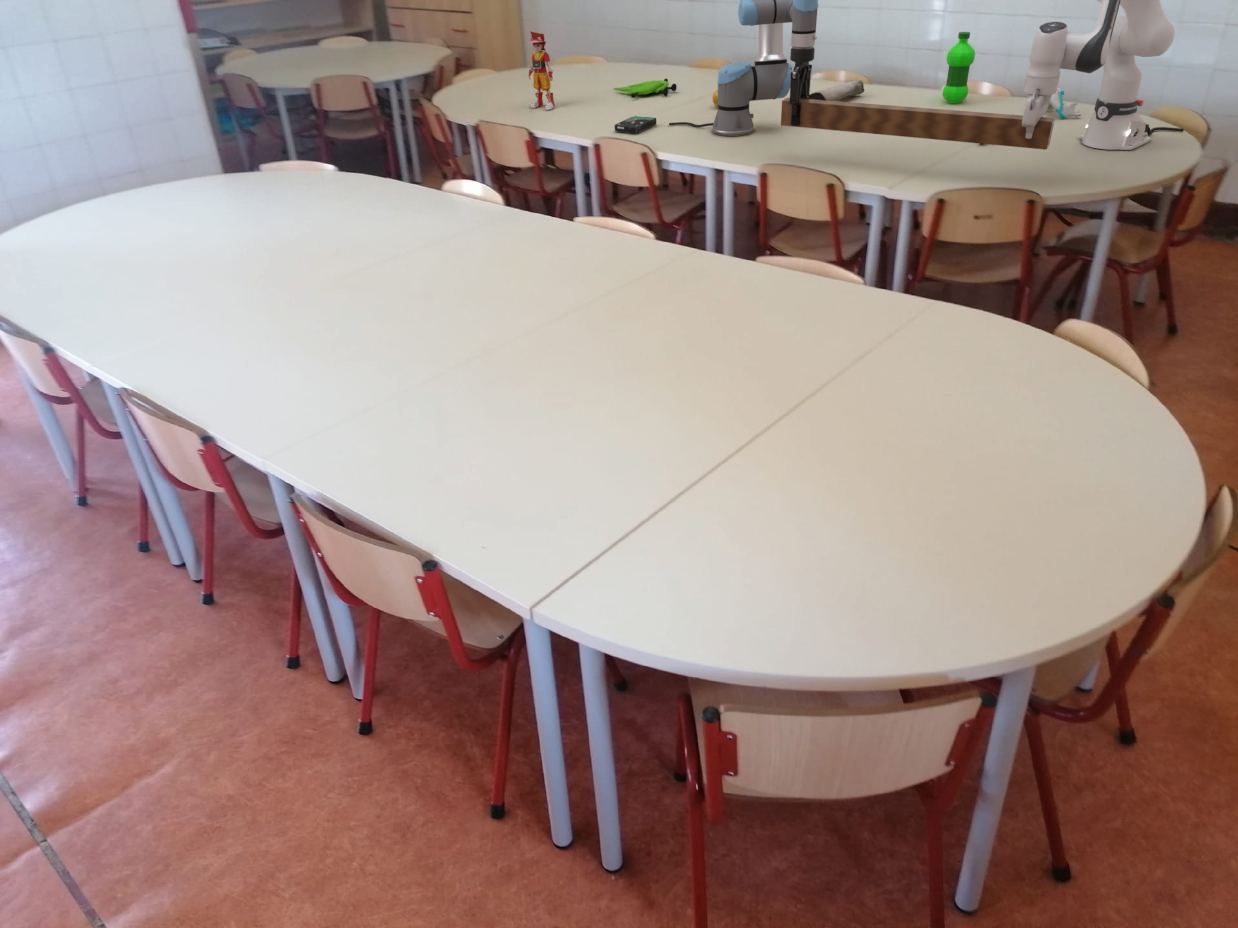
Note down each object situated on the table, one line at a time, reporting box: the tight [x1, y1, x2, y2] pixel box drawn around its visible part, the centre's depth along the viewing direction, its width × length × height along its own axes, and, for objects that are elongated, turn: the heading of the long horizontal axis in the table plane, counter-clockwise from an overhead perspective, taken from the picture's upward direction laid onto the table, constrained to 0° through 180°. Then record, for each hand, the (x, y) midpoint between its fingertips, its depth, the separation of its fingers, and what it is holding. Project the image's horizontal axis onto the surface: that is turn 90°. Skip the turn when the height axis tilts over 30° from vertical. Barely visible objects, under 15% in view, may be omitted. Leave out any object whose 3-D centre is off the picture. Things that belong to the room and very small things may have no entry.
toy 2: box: [612, 78, 677, 99], centre depth 396 cm, size 28×5×30 cm
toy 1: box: [527, 31, 556, 111], centre depth 374 cm, size 12×9×30 cm
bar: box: [780, 97, 1056, 151], centre depth 281 cm, size 83×5×8 cm, turn 59°
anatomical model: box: [1047, 87, 1082, 119], centre depth 330 cm, size 15×10×10 cm
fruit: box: [712, 89, 718, 108], centre depth 365 cm, size 8×8×8 cm
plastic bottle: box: [942, 31, 976, 104], centre depth 348 cm, size 10×10×25 cm
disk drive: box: [614, 115, 657, 135], centre depth 346 cm, size 10×3×15 cm
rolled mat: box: [809, 79, 865, 101], centre depth 362 cm, size 30×9×10 cm
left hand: (798, 123), depth 299 cm, fingers closed on bar, 5 cm apart
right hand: (1030, 135), depth 265 cm, fingers closed on bar, 5 cm apart
